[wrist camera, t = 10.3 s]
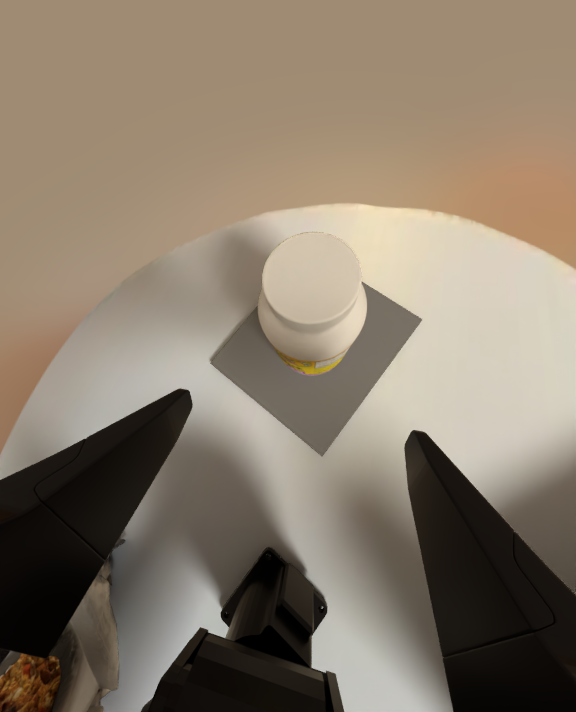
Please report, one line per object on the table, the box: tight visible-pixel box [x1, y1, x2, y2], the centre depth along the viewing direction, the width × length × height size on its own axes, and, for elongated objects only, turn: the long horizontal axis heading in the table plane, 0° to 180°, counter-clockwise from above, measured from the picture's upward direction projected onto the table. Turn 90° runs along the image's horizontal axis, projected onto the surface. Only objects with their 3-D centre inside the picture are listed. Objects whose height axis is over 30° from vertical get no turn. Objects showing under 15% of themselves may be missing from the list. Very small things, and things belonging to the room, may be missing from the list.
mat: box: [210, 282, 422, 456], centre depth 24 cm, size 16×14×1 cm
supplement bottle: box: [258, 232, 367, 375], centre depth 17 cm, size 7×7×13 cm
